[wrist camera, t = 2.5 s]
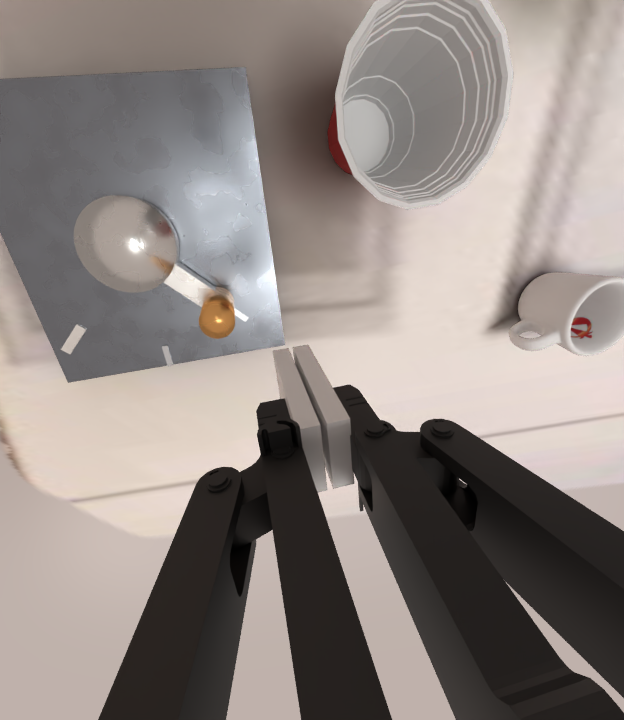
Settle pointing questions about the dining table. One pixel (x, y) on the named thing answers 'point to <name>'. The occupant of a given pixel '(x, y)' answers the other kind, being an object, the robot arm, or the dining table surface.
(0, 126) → the panel
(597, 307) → the cup
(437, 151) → the plastic cup
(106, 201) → the metal measuring spoon
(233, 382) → the dining table surface
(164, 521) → the dining table surface
